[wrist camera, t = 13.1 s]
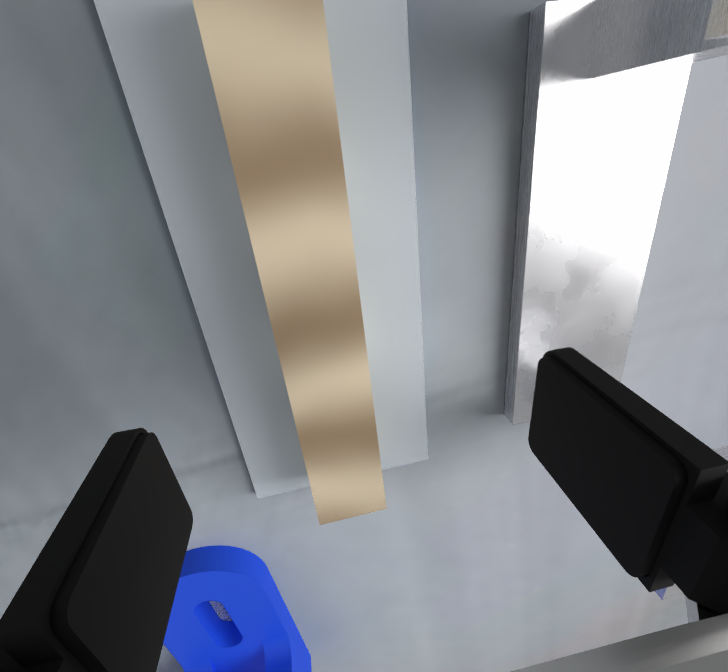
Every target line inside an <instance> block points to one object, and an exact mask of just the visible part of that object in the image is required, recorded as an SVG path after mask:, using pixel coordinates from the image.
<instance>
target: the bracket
mask: <svg viewBox="0 0 728 672" xmlns="http://www.w3.org/2000/svg"><path fill="white" fill-rule="evenodd" d="M209 601H218V602H220V603H222V604H223V606H224V607H225V609H226V610H227V612H228V614H229V615H230V617H231V618H232V620H233V621H224V620H222V619H220V618H219V617H218V615H217V614H216V612H215V610H214V609H213V607H212V606H211V604H210V603H209ZM163 644H164V645H165V646H166V648H167V649H168V650H169V651H170V652H171V654H172V655H173V656H174V657H175V659H176V660H177V661H178V662H179V664H180V665H181V666H182V668H183V670H184V672H312V671H311V656H310V654H309V652H308V650H307V648H306V646H305V643H304V641H303V639H302V637H301V635H300V633H299V631H298V629H297V627H296V625H295V623H294V621H293V619H292V617H291V615H290V613H289V611H288V609H287V607H286V605H285V603H284V601H283V599H282V597H281V595H280V593H279V591H278V589H277V587H276V585H275V582H274V580H273V578H272V576H271V574H270V572H269V570H268V568H267V566H266V565H265V563H264V562H263V561H262V560H261V559H260V558H259V557H258V556H256V555H255V554H253V553H251V552H249V551H247V550H244V549H241V548H237V547H231V546H206V547H200V548H196V549H192V550H189V551H186V554H185V558H184V562H183V566H182V570H181V574H180V578H179V582H178V586H177V590H176V594H175V598H174V602H173V606H172V610H171V614H170V618H169V622H168V626H167V630H166V634H165V638H164V642H163Z"/></svg>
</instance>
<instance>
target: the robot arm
mask: <svg viewBox="0 0 728 672" xmlns="http://www.w3.org/2000/svg"><path fill="white" fill-rule="evenodd" d="M528 440H529V445H530V448H531V450H532V452H533V453H534V455H535V456H536V457H537V458H538V460H539V461H540V462H541V464H542V465H543V466H544V467H545V469H546V470H547V471H548V472H549V474H550V475H551V476H552V478H553V479H554V480H555V481H556V483H557V484H558V485H559V487H560V488H561V489H562V490H563V492H564V493H565V494H566V495H567V497H568V498H569V499H570V501H571V502H572V503H573V504H574V506H575V507H576V508H577V510H578V511H579V512H580V513H581V515H582V516H583V517H584V518H585V520H586V521H587V522H588V524H589V525H590V526H591V527H592V529H593V530H594V531H595V533H596V534H597V535H598V536H599V538H600V539H601V540H602V541H603V543H604V544H605V545H606V547H607V548H608V549H609V550H610V552H611V553H612V554H613V556H614V557H615V558H616V559H617V561H618V562H619V563H620V564H621V566H622V567H623V568H624V569H625V571H626V572H627V573H628V574H630V575H631V576H633V577H638V579H639V580H640V581H641V582H642V584H643V585H644V586H645V587H646V589H647V590H648V591H649V592H652V591H656V590H660V589H663V588H667V587H671V586H673V585H674V583H675V584H676V585H677V587H678V588H679V589H680V590H681V591H682V592H683V593H684V595H685V599H686V608H687V616H688V623H687V624H683V625H679V626H676V627H672V628H668V629H665V630H661V631H657V632H654V633H650V634H646V635H643V636H639V637H635V638H632V639H628V640H624V641H621V642H617V643H614V644H610V645H606V646H603V647H599V648H595V649H592V650H588V651H584V652H581V653H577V654H573V655H570V656H566V657H562V658H559V659H555V660H551V661H548V662H544V663H540V664H537V665H533V666H530V667H526V668H523V669H519V670H515V671H512V672H728V472H727V471H728V461H727V460H726V459H724V458H723V457H722V456H720V455H719V454H718V453H716V452H715V451H713V450H712V449H711V448H709V447H708V446H707V445H705V444H704V443H703V442H701V441H700V440H698V439H697V438H696V437H694V436H693V435H692V434H690V433H689V432H687V431H686V430H685V429H683V428H682V427H681V426H679V425H678V424H676V423H675V422H674V421H672V420H671V419H670V418H668V417H667V416H666V415H664V414H663V413H661V412H660V411H659V410H657V409H656V408H655V407H653V406H652V405H650V404H649V403H648V402H646V401H645V400H644V399H642V398H641V397H640V396H638V395H637V394H635V393H634V392H633V391H631V390H630V389H629V388H627V387H626V386H624V385H623V384H622V383H620V382H619V381H618V380H616V379H615V378H613V377H612V376H611V375H609V374H608V373H607V372H605V371H604V370H603V369H601V368H600V367H598V366H597V365H596V364H594V363H593V362H592V361H590V360H589V359H587V358H586V357H585V356H583V355H582V354H581V353H579V352H578V351H576V350H575V349H573V348H571V347H566V348H561V349H555V350H550V351H547V352H545V354H544V356H543V358H541V359H540V360H539V361H538V366H537V374H536V382H535V390H534V398H533V406H532V414H531V421H530V429H529V437H528ZM192 524H193V516H192V511H191V509H190V507H189V504H188V502H187V500H186V498H185V496H184V494H183V492H182V490H181V487H180V485H179V483H178V481H177V479H176V477H175V475H174V473H173V470H172V468H171V466H170V464H169V462H168V460H167V458H166V456H165V453H164V451H163V449H162V447H161V445H160V443H159V441H158V439H157V437H156V435H155V434H154V433H148V432H147V431H146V430H145V429H144V428H137V429H132V430H127V431H121V432H116V433H114V434H112V435H111V437H110V438H109V440H108V441H107V443H106V445H105V446H104V448H103V450H102V451H101V453H100V455H99V456H98V458H97V460H96V461H95V463H94V465H93V466H92V468H91V470H90V471H89V473H88V475H87V476H86V478H85V480H84V481H83V483H82V485H81V486H80V488H79V490H78V491H77V493H76V495H75V496H74V498H73V500H72V501H71V503H70V505H69V506H68V508H67V510H66V511H65V513H64V515H63V516H62V518H61V520H60V521H59V523H58V525H57V526H56V528H55V530H54V531H53V533H52V535H51V536H50V538H49V539H48V541H47V543H46V544H45V546H44V548H43V549H42V551H41V553H40V554H39V556H38V558H37V559H36V561H35V563H34V564H33V566H32V568H31V569H30V571H29V573H28V574H27V576H26V578H25V579H24V581H23V583H22V584H21V586H20V588H19V589H18V591H17V593H16V594H15V596H14V598H13V599H12V601H11V603H10V604H9V606H8V608H7V609H6V611H5V613H4V614H3V616H2V618H1V619H0V672H156V670H157V666H158V662H159V658H160V654H161V650H162V646H163V642H164V638H165V634H166V630H167V626H168V622H169V618H170V614H171V610H172V606H173V602H174V598H175V594H176V590H177V586H178V582H179V578H180V574H181V570H182V566H183V562H184V558H185V554H186V550H187V546H188V541H189V537H190V533H191V529H192Z"/></svg>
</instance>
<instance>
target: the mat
mask: <svg viewBox="0 0 728 672" xmlns="http://www.w3.org/2000/svg"><path fill="white" fill-rule="evenodd" d="M94 3H95V6H96V9H97V12H98V15H99V18H100V21H101V25H102V28H103V31H104V34H105V37H106V40H107V43H108V46H109V49H110V52H111V55H112V58H113V61H114V64H115V67H116V70H117V73H118V76H119V79H120V82H121V85H122V88H123V91H124V94H125V97H126V100H127V103H128V107H129V110H130V113H131V116H132V119H133V122H134V125H135V128H136V131H137V134H138V137H139V140H140V143H141V146H142V149H143V152H144V155H145V158H146V161H147V164H148V167H149V170H150V173H151V176H152V179H153V182H154V185H155V189H156V192H157V195H158V198H159V201H160V204H161V207H162V210H163V213H164V216H165V219H166V222H167V225H168V228H169V231H170V234H171V237H172V240H173V243H174V246H175V249H176V252H177V255H178V258H179V261H180V264H181V267H182V271H183V274H184V277H185V280H186V283H187V286H188V289H189V292H190V295H191V298H192V301H193V304H194V307H195V310H196V313H197V316H198V319H199V322H200V325H201V328H202V331H203V334H204V337H205V340H206V343H207V346H208V349H209V353H210V356H211V359H212V362H213V365H214V368H215V371H216V374H217V377H218V380H219V383H220V386H221V389H222V392H223V395H224V398H225V401H226V404H227V407H228V410H229V413H230V416H231V419H232V422H233V425H234V428H235V431H236V435H237V438H238V441H239V444H240V447H241V450H242V453H243V456H244V459H245V462H246V465H247V468H248V471H249V474H250V477H251V480H252V483H253V486H254V489H255V492H256V495H257V498H258V499H259V498H263V497H267V496H272V495H276V494H280V493H285V492H289V491H293V490H298V489H302V488H306V487H311V486H310V482H309V478H308V474H307V470H306V466H305V462H304V457H303V453H302V449H301V445H300V441H299V437H298V433H297V429H296V425H295V420H294V416H293V412H292V408H291V404H290V400H289V396H288V392H287V388H286V383H285V379H284V375H283V371H282V367H281V363H280V359H279V355H278V351H277V346H276V342H275V338H274V334H273V330H272V326H271V322H270V318H269V314H268V309H267V305H266V301H265V297H264V293H263V289H262V285H261V281H260V277H259V272H258V268H257V264H256V260H255V256H254V252H253V248H252V244H251V240H250V235H249V231H248V227H247V223H246V219H245V215H244V211H243V207H242V203H241V198H240V194H239V190H238V186H237V182H236V178H235V174H234V170H233V166H232V161H231V157H230V153H229V149H228V145H227V141H226V137H225V133H224V129H223V124H222V120H221V116H220V112H219V108H218V104H217V100H216V96H215V91H214V87H213V83H212V79H211V75H210V71H209V67H208V63H207V59H206V54H205V50H204V46H203V42H202V38H201V34H200V30H199V26H198V22H197V17H196V13H195V9H194V5H193V1H192V0H94ZM323 5H324V13H325V21H326V29H327V37H328V45H329V53H330V61H331V69H332V77H333V85H334V93H335V101H336V109H337V117H338V125H339V133H340V141H341V149H342V157H343V165H344V173H345V181H346V189H347V197H348V205H349V213H350V221H351V229H352V237H353V245H354V253H355V261H356V269H357V277H358V285H359V293H360V301H361V309H362V317H363V324H364V332H365V340H366V348H367V356H368V364H369V372H370V380H371V388H372V396H373V404H374V412H375V420H376V428H377V436H378V444H379V452H380V460H381V468H382V470H384V469H389V468H393V467H397V466H402V465H406V464H410V463H415V462H419V461H423V460H428V445H427V424H426V403H425V381H424V360H423V338H422V317H421V295H420V274H419V253H418V231H417V210H416V188H415V167H414V145H413V124H412V103H411V81H410V60H409V38H408V17H407V0H323Z"/></svg>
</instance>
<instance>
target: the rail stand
mask: <svg viewBox="0 0 728 672" xmlns="http://www.w3.org/2000/svg"><path fill="white" fill-rule="evenodd" d="M723 55H728V0H563V1H551V2H545V3H544V4H542V5H540V6H538V7H537V8H535V9H533V10H531V11H530V24H529V39H528V54H527V69H526V85H525V100H524V115H523V130H522V146H521V161H520V176H519V192H518V207H517V222H516V237H515V253H514V268H513V283H512V298H511V314H510V329H509V344H508V360H507V375H506V390H505V405H504V415H505V416H506V418H507V419H508V420H509V421H510V422H511V423H512V425H514V424H519V423H523V422H528V421H531V414H532V406H533V398H534V390H535V382H536V374H537V366H538V361H539V360H540V359H541V358H543V356H544V354H545V352H547V351H550V350H555V349H561V348H566V347H571V348H573V349H575V350H576V351H578V352H579V353H581V354H582V355H583V356H585V357H586V358H587V359H589V360H590V361H592V362H593V363H594V364H596V365H597V366H598V367H600V368H601V369H603V370H604V371H605V372H607V373H608V374H609V375H611V376H612V377H613V378H615V379H616V380H618V381H619V382H621V377H622V373H623V368H624V364H625V359H626V355H627V350H628V346H629V341H630V337H631V333H632V328H633V324H634V319H635V315H636V310H637V306H638V301H639V297H640V292H641V288H642V283H643V279H644V274H645V270H646V265H647V261H648V256H649V252H650V247H651V243H652V238H653V234H654V229H655V225H656V220H657V216H658V211H659V207H660V202H661V198H662V193H663V189H664V185H665V180H666V176H667V171H668V167H669V162H670V158H671V153H672V149H673V144H674V140H675V135H676V131H677V126H678V122H679V117H680V113H681V108H682V104H683V99H684V95H685V90H686V86H687V81H688V77H689V72H690V68H691V63H692V62H697V61H701V60H706V59H710V58H715V57H719V56H723ZM713 451H715V452H716V453H718V454H719V455H720V456H722V457H723V458H724V459H726V460H727V461H728V446H726V447H722V448H718V449H714V450H713ZM727 472H728V471H727ZM655 592H656V593H657V594H658V596H659V597H660V598H661V599H662V600H663V599H667V598H670V597H673V596H677V595H680V594H683V592H682V591H681V590H680V589H679V588H678V587H677V585H676V584H675V583H674V585H673V586H671V587H667V588H663V589H660V590H656V591H655Z"/></svg>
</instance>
